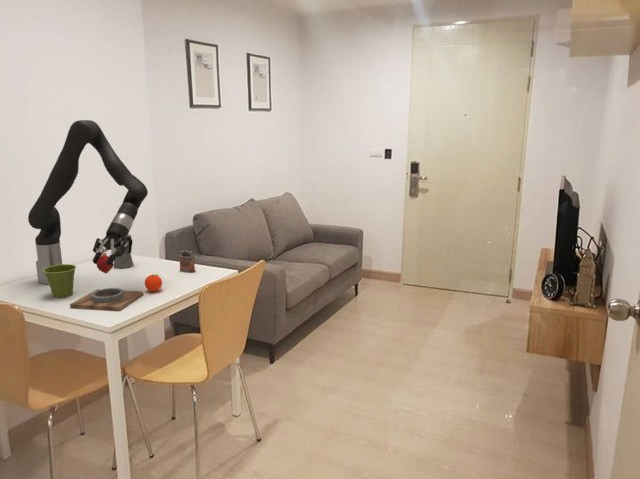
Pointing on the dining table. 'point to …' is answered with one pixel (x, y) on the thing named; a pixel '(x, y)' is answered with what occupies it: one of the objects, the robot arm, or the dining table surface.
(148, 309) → the dining table surface
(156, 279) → the clementine
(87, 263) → the dining table surface
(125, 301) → the board
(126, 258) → the coffeepot
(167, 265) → the dining table surface
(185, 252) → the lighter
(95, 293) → the ring
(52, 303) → the dining table surface
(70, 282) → the plant pot
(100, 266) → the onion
